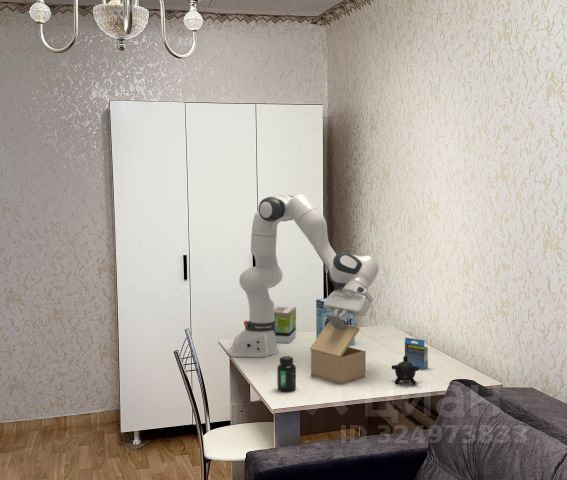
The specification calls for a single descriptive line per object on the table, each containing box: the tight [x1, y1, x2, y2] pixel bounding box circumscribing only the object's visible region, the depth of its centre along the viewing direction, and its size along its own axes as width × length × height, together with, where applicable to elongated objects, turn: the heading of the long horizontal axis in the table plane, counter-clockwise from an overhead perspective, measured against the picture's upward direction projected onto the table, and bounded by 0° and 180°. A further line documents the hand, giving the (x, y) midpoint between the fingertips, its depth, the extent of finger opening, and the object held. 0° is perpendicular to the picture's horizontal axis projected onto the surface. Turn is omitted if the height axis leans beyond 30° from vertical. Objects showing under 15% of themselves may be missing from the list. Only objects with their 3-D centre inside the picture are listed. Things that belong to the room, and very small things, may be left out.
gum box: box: [315, 297, 356, 346], centre depth 325 cm, size 20×5×23 cm, turn 126°
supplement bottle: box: [276, 355, 297, 393], centre depth 264 cm, size 7×7×12 cm
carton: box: [310, 346, 367, 386], centre depth 279 cm, size 14×16×10 cm
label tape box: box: [404, 337, 429, 370], centre depth 291 cm, size 9×4×12 cm, turn 56°
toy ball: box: [391, 355, 420, 385], centre depth 270 cm, size 11×11×12 cm
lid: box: [309, 313, 360, 357], centre depth 275 cm, size 14×16×9 cm
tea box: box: [274, 306, 297, 344], centre depth 341 cm, size 15×10×15 cm, turn 168°
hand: (336, 320), depth 277 cm, fingers closed, pressing on lid
